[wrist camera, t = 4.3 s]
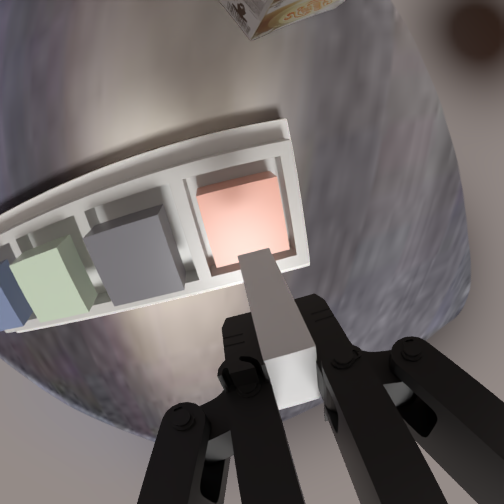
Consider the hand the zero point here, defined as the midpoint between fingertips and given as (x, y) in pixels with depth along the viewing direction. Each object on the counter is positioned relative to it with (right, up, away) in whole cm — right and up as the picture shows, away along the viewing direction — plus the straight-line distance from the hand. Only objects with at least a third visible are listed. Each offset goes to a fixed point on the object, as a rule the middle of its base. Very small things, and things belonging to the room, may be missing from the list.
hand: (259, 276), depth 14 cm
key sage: (-16, -1, +6) cm, 18 cm away
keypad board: (-13, +2, +11) cm, 17 cm away
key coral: (-1, +4, +9) cm, 10 cm away
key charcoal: (-9, +1, +7) cm, 11 cm away
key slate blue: (-24, -3, +6) cm, 25 cm away
